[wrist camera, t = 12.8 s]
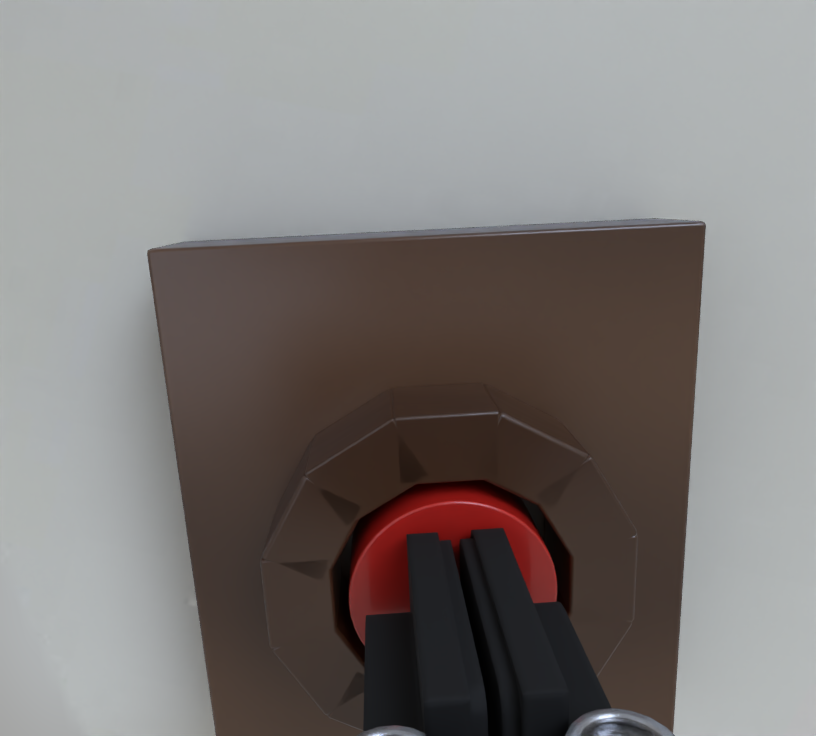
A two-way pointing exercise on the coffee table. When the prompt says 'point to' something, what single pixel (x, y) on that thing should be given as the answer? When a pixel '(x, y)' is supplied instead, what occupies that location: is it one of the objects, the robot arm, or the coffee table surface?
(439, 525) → the button
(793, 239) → the coffee table surface
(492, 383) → the button box
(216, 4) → the coffee table surface
